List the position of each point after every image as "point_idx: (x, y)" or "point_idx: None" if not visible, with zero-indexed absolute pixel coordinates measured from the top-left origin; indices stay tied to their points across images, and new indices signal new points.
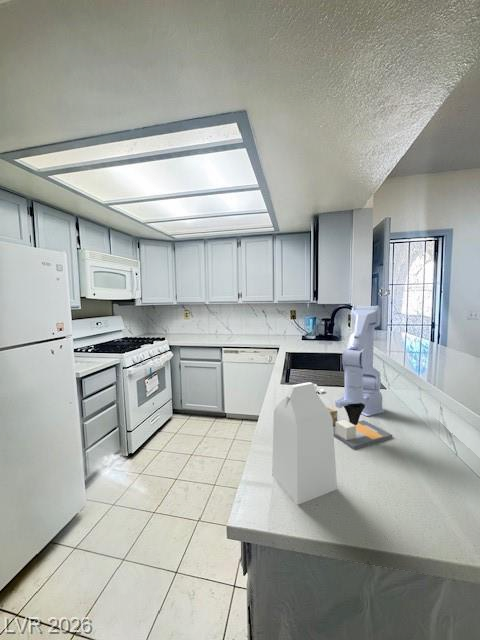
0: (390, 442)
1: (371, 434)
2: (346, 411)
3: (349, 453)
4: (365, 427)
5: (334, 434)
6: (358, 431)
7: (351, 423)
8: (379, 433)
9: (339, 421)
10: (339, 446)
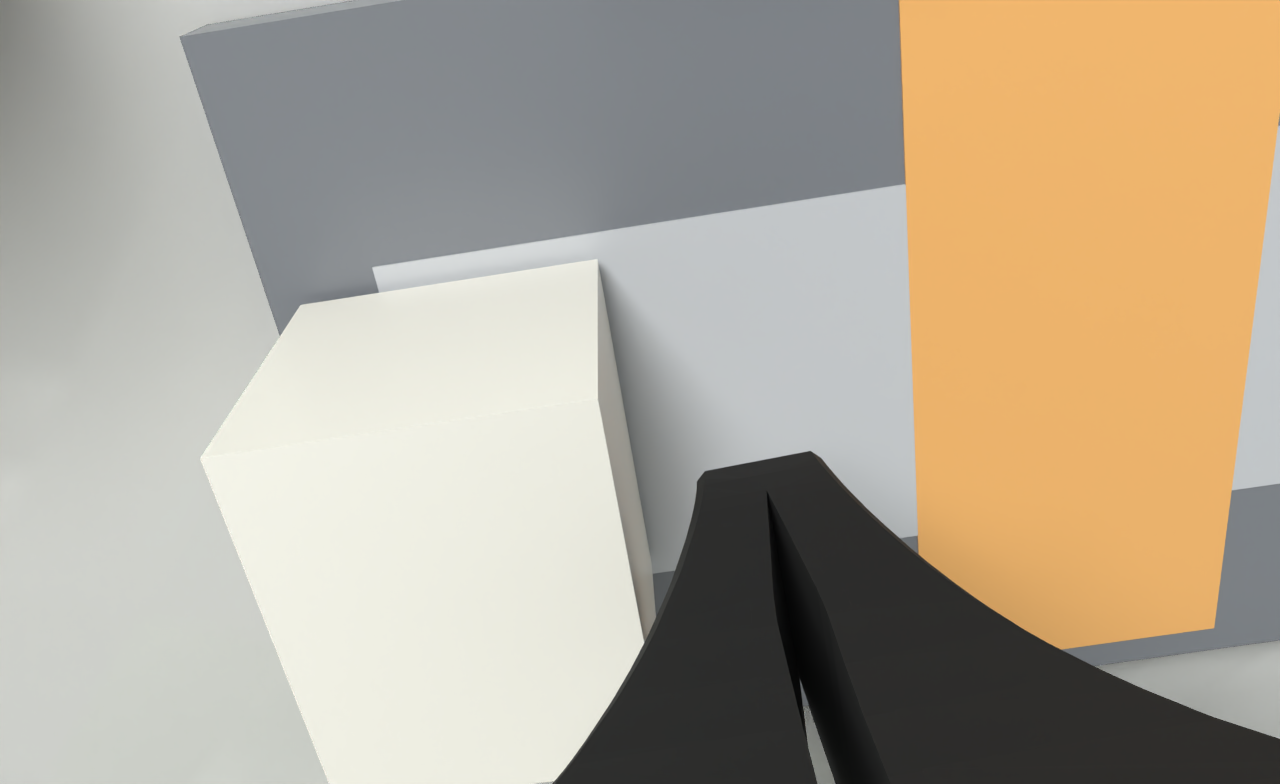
0: (1194, 686)
1: (1065, 527)
2: (609, 713)
3: (302, 778)
4: (1233, 234)
5: (274, 300)
6: (911, 352)
7: (641, 646)
8: (1256, 527)
9: (351, 463)
10: (229, 595)
